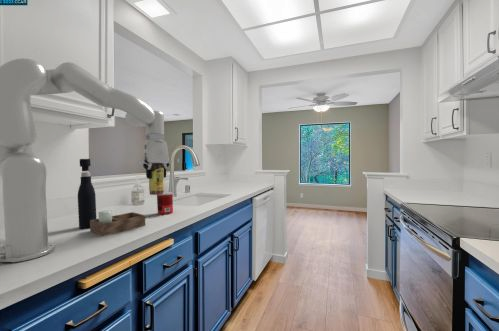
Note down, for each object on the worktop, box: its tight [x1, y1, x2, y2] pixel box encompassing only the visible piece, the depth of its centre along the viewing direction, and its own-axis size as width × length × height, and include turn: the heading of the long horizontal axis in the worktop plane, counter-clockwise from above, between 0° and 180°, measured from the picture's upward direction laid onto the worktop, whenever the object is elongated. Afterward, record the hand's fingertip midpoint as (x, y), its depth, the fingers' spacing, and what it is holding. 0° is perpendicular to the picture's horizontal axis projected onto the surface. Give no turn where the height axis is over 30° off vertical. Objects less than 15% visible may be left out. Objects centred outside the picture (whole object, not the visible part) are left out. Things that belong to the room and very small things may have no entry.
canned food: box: [156, 191, 174, 216], centre depth 125 cm, size 8×8×11 cm
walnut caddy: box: [89, 211, 146, 237], centre depth 99 cm, size 17×12×4 cm, turn 142°
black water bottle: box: [77, 158, 97, 230], centre depth 101 cm, size 6×6×30 cm
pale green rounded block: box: [98, 210, 113, 224], centre depth 95 cm, size 5×5×7 cm
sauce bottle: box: [148, 163, 165, 196], centre depth 106 cm, size 6×6×20 cm
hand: (156, 177), depth 106 cm, fingers closed on sauce bottle, 6 cm apart
